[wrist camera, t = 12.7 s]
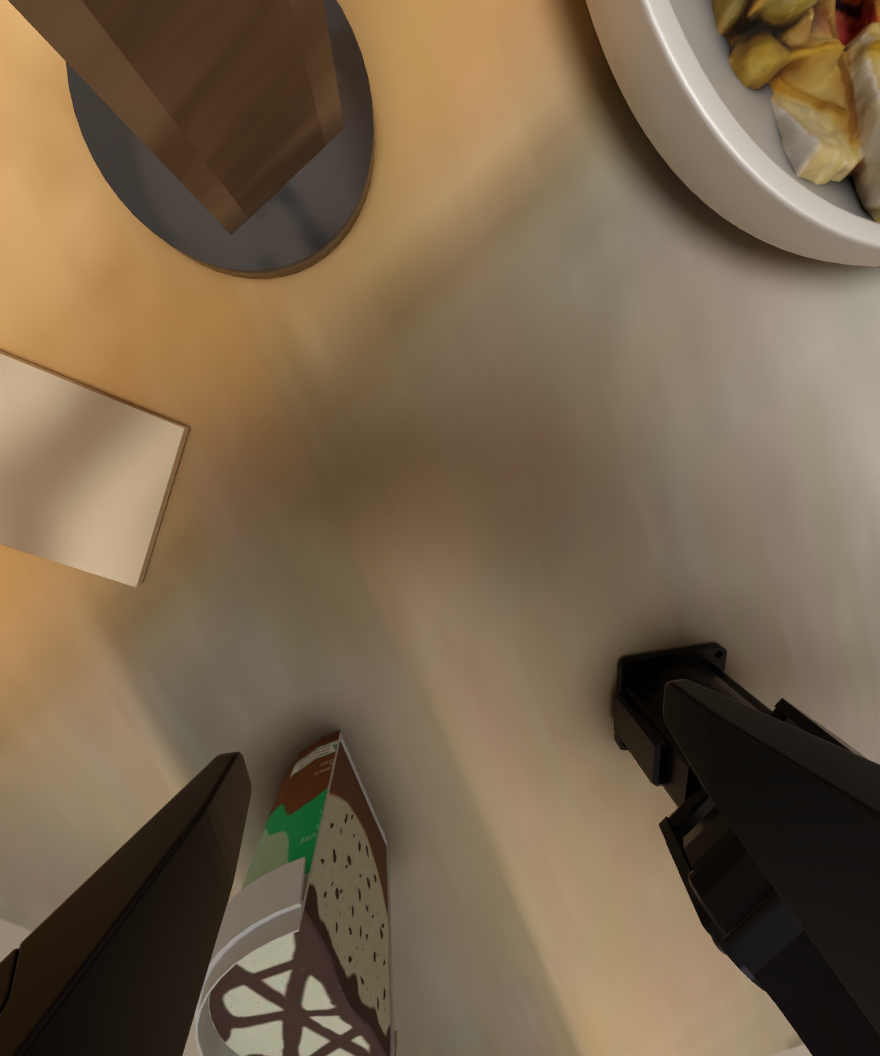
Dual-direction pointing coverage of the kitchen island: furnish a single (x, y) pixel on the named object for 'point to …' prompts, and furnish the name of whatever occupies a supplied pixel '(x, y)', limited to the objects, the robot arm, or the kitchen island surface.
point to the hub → (285, 219)
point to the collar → (208, 86)
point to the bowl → (761, 111)
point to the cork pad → (82, 472)
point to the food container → (307, 926)
